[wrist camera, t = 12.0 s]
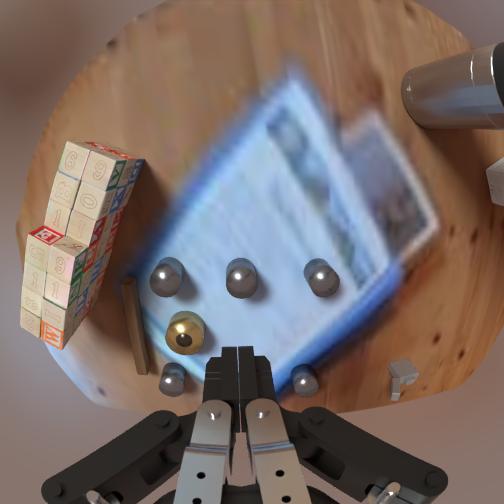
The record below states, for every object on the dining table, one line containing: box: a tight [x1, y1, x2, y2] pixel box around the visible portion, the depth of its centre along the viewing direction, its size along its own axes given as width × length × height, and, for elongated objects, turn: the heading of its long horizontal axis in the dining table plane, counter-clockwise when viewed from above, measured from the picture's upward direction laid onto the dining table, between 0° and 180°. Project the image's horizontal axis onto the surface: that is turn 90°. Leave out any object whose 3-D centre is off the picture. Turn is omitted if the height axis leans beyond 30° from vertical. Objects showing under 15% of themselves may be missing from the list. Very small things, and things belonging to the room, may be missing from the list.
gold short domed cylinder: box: [165, 311, 205, 355], centre depth 38 cm, size 5×5×4 cm
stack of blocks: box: [20, 141, 144, 350], centre depth 29 cm, size 21×6×12 cm, turn 154°
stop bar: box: [120, 277, 150, 375], centre depth 38 cm, size 2×15×2 cm, turn 178°
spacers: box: [149, 257, 340, 404], centre depth 39 cm, size 24×22×4 cm
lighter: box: [388, 358, 419, 401], centre depth 42 cm, size 7×2×8 cm, turn 92°
